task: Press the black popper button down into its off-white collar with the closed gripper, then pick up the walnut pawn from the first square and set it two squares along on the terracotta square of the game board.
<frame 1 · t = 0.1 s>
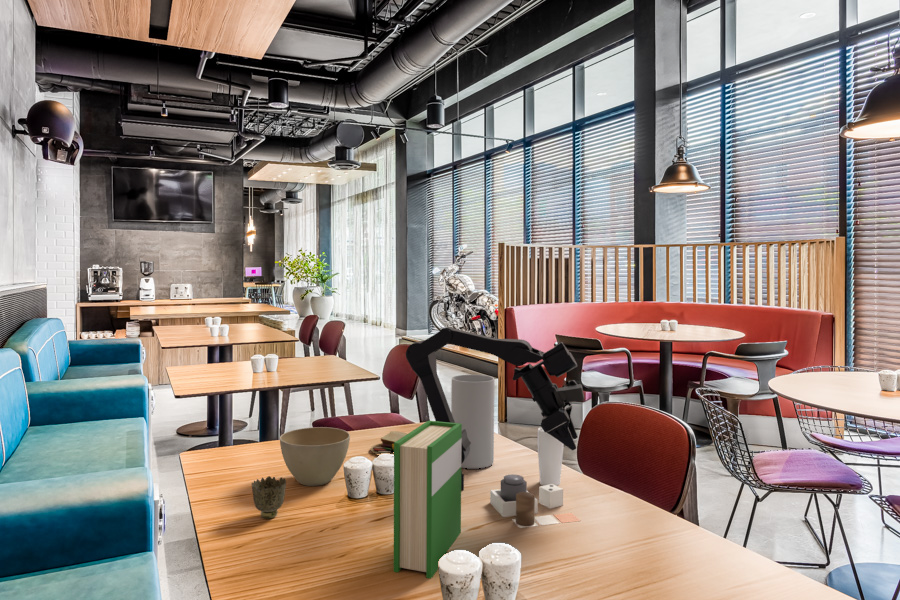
hand: (575, 443, 138), 15 cm above the table, tool tilted 30°, fingers open, 9 cm apart
toy sandwich meal: (390, 451, 181), on the table
cup: (269, 517, 130), on the table
cylinder vase: (472, 463, 169), on the table
board: (537, 516, 132), on the table
deep taupe bowl: (315, 481, 154), on the table
popper button: (513, 488, 134), point 6 cm above the table, slide at 0.0 cm
die: (550, 504, 136), resting on board
hardback book: (429, 554, 114), on the table
white tapered vase: (549, 486, 151), on the table
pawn: (525, 522, 126), point 1 cm above the table, touching board
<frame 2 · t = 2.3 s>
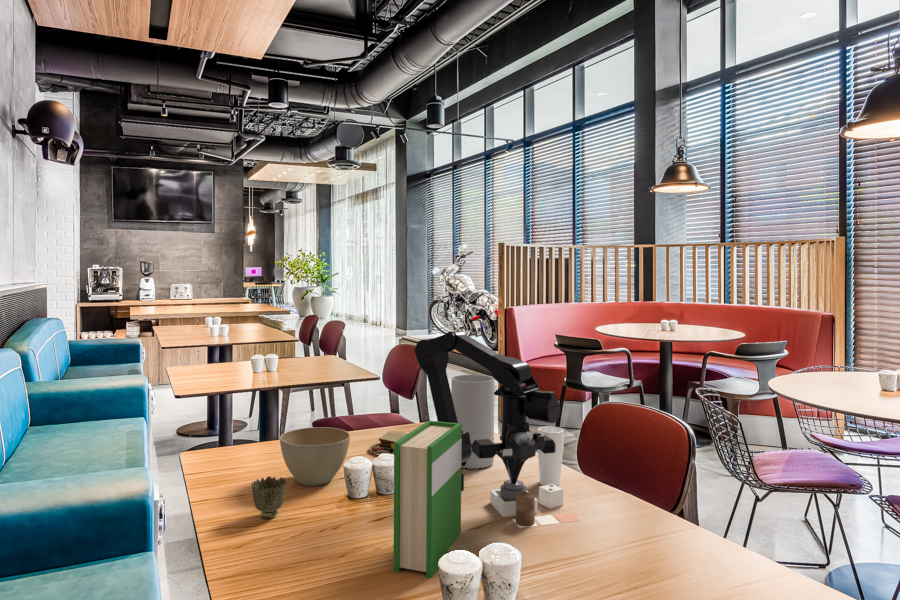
hand: (513, 483, 134), 7 cm above the table, tool pointing down, fingers closed, pressing on popper button
popper button: (513, 493, 134), point 4 cm above the table, slide at 1.2 cm, touching gripper
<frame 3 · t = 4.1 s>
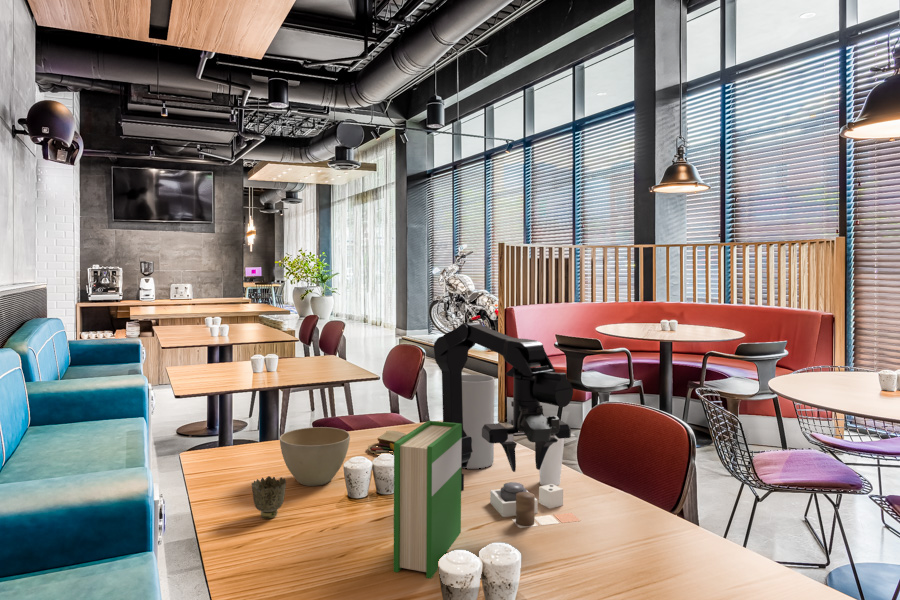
hand: (525, 470, 125), 13 cm above the table, tool pointing down, fingers open, 5 cm apart
popper button: (513, 496, 134), point 4 cm above the table, slide at 1.8 cm
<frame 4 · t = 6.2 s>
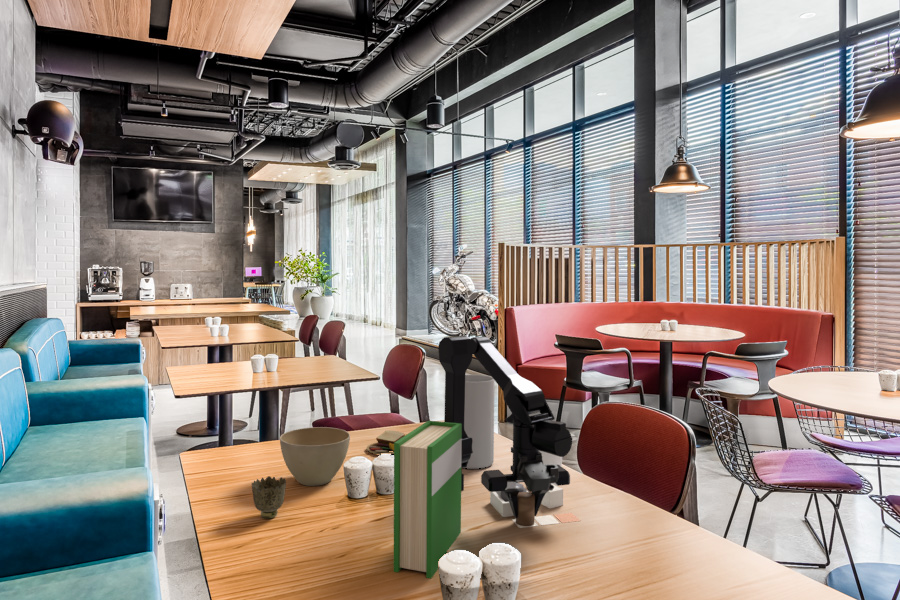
hand: (525, 516, 126), 2 cm above the table, tool pointing down, fingers closed on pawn, 4 cm apart
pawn: (525, 522, 126), point 1 cm above the table, touching board, gripper
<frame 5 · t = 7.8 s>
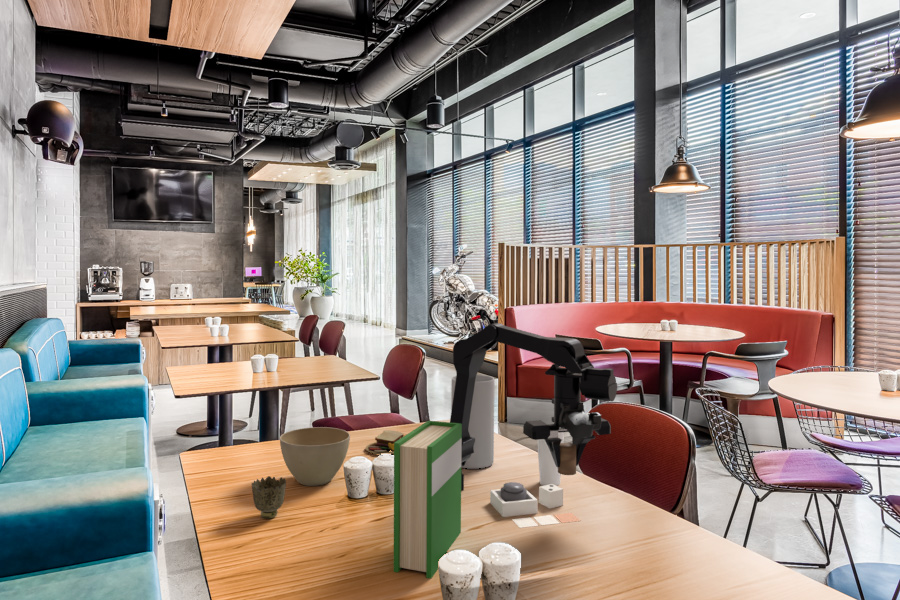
hand: (566, 466, 128), 13 cm above the table, tool pointing down, fingers closed on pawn, 4 cm apart
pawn: (566, 472, 128), point 11 cm above the table, touching gripper
when the fingers open (3 cm above the table, at t = 9.8 s): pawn drops 1 cm, resting on board.
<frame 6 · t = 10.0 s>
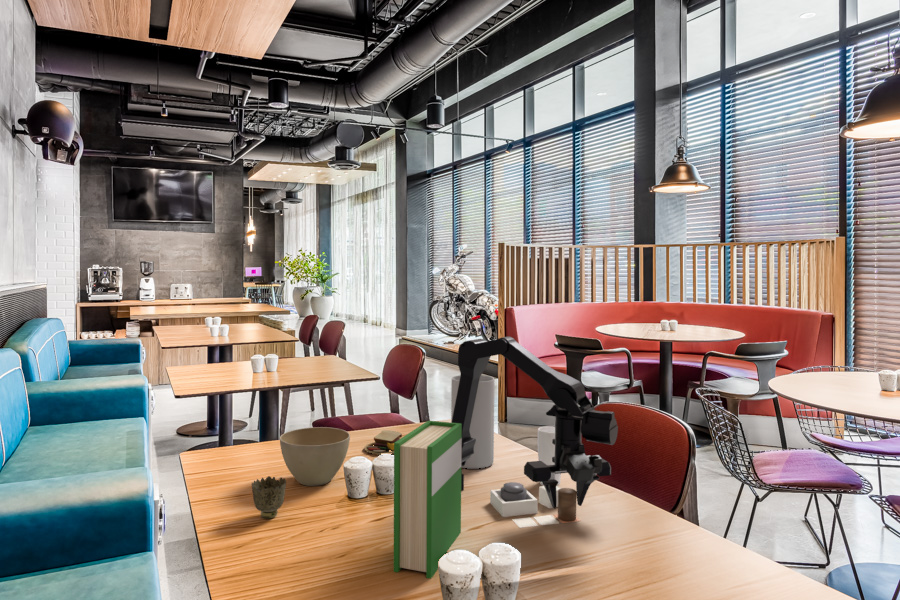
hand: (566, 506, 128), 3 cm above the table, tool pointing down, fingers open, 6 cm apart
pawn: (566, 517, 128), point 1 cm above the table, touching board
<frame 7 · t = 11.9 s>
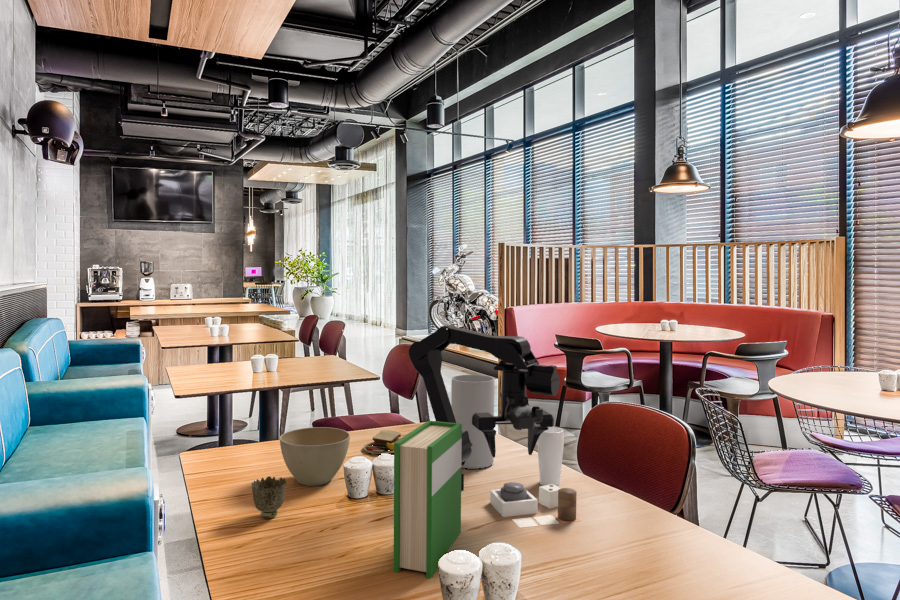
hand: (511, 455, 137), 12 cm above the table, tool pointing down, fingers open, 9 cm apart
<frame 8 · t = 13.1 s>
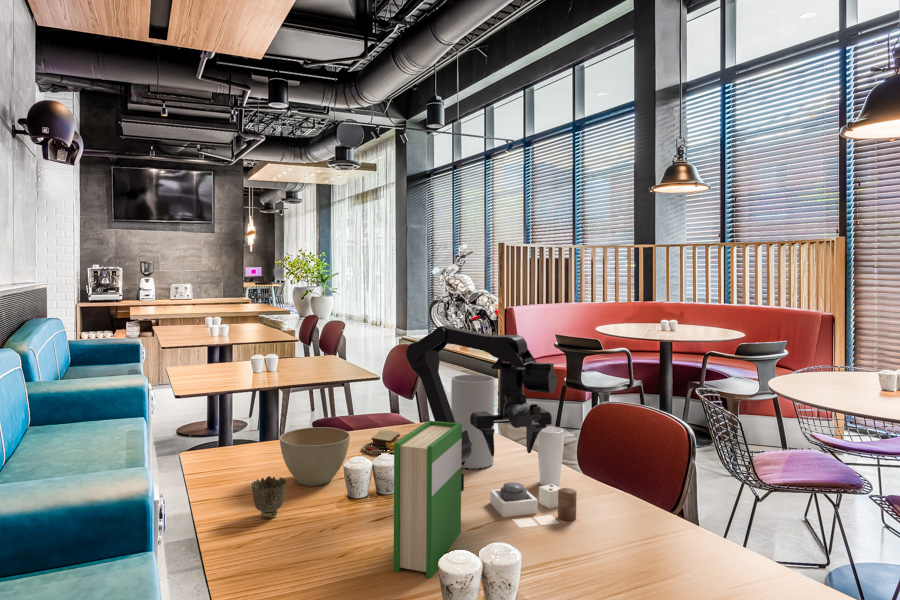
hand: (510, 454, 137), 13 cm above the table, tool pointing down, fingers open, 9 cm apart
at the end: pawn 0.1 cm from the target spot, point 1.0 cm above the table; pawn tilted 0°; popper button slide at 1.8 cm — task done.
